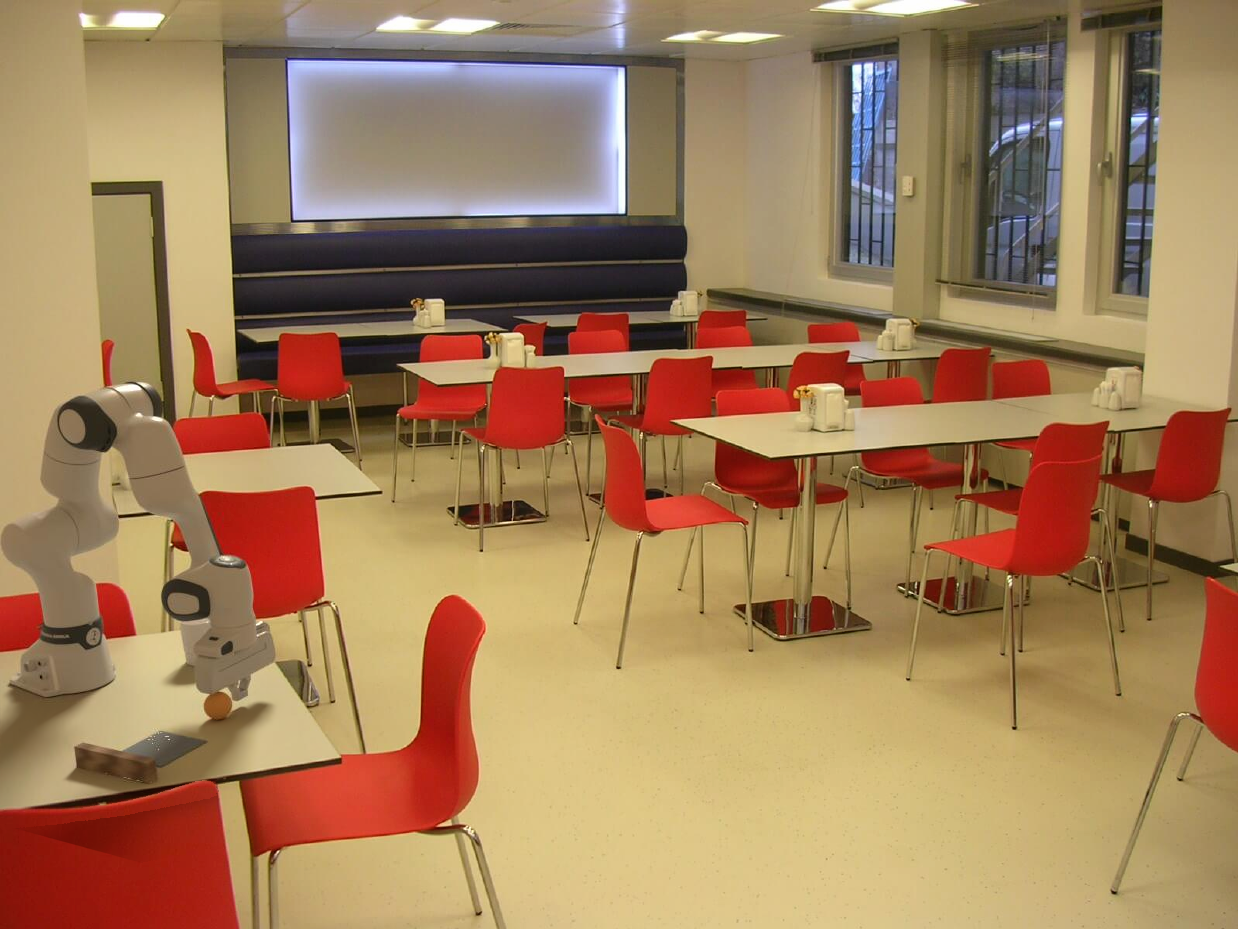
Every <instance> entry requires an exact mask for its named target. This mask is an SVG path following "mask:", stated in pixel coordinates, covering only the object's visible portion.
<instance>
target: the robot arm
mask: <svg viewBox="0 0 1238 929" xmlns="http://www.w3.org/2000/svg"><path fill="white" fill-rule="evenodd" d="M163 412H164V404H163V401H162V397H161V395H160V394H159V392H158V390H157V389H156V388H155V387H154V386H153V385H151V384H149V383H147V382H144V381H127V382H126V381H125V382H124V383H120V384H114V385H109V386H104V387H101V388H99V389H97V390H94V391H91V392H88V393H86V394H84V395H78V396H75V397H73V398H71V399H69V400H68V401H64V402H62V403H60V404H59V405H57V407H56V408H55V409H54V411H53V414H52V416H51V419H50V421H49V425H48V428H47V432H46V436H45V440H44V446H43V452H42V462H41V468H40V476H39V479H40V483H41V486H42V487H43V489H44V490H45V491H46V492H47V493H48V494H49V495H51V496H52V497H54V498H56V499H58V500H57V503H56V505H55V506H54V507H50V508H47V509H43V510H41V511H40V510H39V511H36V512H33V513H29V514H25V515H23V516H21V517H19V518H17V519H15V520H13V521H11V522H10V523H7V524H6V525H5V526H4V527H3V529H2V532H1V535H0V548H1V552H2V555H3V556H4V557H5V559H6V560H7V561H8V562H9V563H11V564H12V565H13V566H14V567H17V568H18V569H21V570H22V571H24V572H26V573H27V575H29V577H30V578H31V579H32V581H33V582H34V584H35V586H36V588H37V591H38V594H39V599H40V604H41V610H42V616H43V617H42V618H43V622H41V623H38V624H35V627H37V628H36V629H35V630H36V631H38V630H40V635H39V638H38V639H37V640H36V641H35V642H34V643H32V645H30V646H29V647H28V648H27V649H26V650H25V651H24V652H23V653H22V654H21V657H20V671H18V672H17V673H15V674H13V675H12V676H11V677H10V678H9V683H10V684H11V685H13V686H16V687H18V688H21V689H23V690H26V691H29V692H30V693H33V694H35V695H39V696H41V697H43V698H49V697H54V696H60V695H67V694H76V693H82V692H88V691H91V690H96V689H98V688H100V687H101V688H102V687H103V686H105V685H108V683H111V682H112V681H113V680H114V679H115V677H116V674H115V671H114V670H115V668H116V665H115V662H112V659H111V655H110V650H109V646H108V641H107V638H106V636H105V634H104V620H103V616H102V614H101V613H100V608H99V607H100V606H99V600H98V592H97V585H96V582H95V581H94V580H93V579H92V577H91V576H89V575H88V574H85V573H83V572H79V571H76V570H74V567H73V565H72V561H71V560H72V559H71V558H72V557H75V556H79V555H81V554H84V553H87V552H91V551H94V550H97V549H99V548H101V547H102V546H105V545H106V544H108V543H110V542H112V541H113V540H114V539H116V537H117V536H118V533H119V530H120V529H119V528H120V519H119V515H118V512H117V510H116V509H115V508H114V507H113V505H112V504H110V502H108V501H106V500H105V499H103V498H102V495H101V494H100V490H99V478H100V469H101V461H102V455H103V453H108V452H109V450H110V449H111V448H114V449H115V450H116V451H118V452H119V453H120V454H121V455H122V458H123V461H124V464H125V467H126V468H125V469H126V473H127V476H128V480H129V485H130V488H131V490H132V493H133V496H134V498H135V501H136V503H137V504H138V506H139V507H140V508H142V509H143V510H144V511H146V512H147V513H149V514H153V515H155V516H159V517H165V518H168V519H171V520H172V521H174V522H175V524H177V526H178V528H179V529H180V532H181V535H182V538H183V540H184V542H185V546H186V548H187V550H188V551H187V552H188V554H189V555H190V561H191V562H190V566H189V568H188V569H186V570H184V571H182V572H180V573H178V574H177V575H175V576H173V577H171V579H169V580H168V581H167V582H166V583H165V584H164V585H163V587H162V590H161V592H160V599H161V604H162V607H163V609H164V611H165V612H166V613H167V615H169V616H170V618H172V619H174V620H176V621H178V622H179V621H194V620H200V619H204V618H208V619H209V620H210V626H211V628H210V629H208V631H207V632H206V633H205V634H204V635H203V637H202V638H201V639H199V640H198V641H197V642H196V643H195V644H194V646H193V650H194V653H195V654H197V655H198V656H197V658H196V660H195V666H194V678H195V686H196V689H197V690H198V692H200V693H202V694H205V695H206V694H207V695H210V694H214V693H216V692H221V691H222V690H224V689H226V688H227V689H228V690H229V692H230V695H231V700H232V702H239V701H241V700H243V699H245V698H247V697H248V696H249V692H248V690H249V686H250V683H251V680H252V677H251V675H253V674H254V673H257V672H258V671H260V670H262V669H264V668H267V667H269V666H270V665H272V664H273V663H275V660H276V657H277V652H276V647H275V642H274V639H273V635H272V633H271V628H270V625H269V624H268V623H267V622H265V621H264V620H263V621H259V622H257V620H256V614H255V612H254V609H253V605H254V604H253V603H254V589H253V583H252V582H253V580H252V576H251V572H250V569H249V566H248V564H247V563H246V561H245V560H244V559H242V558H241V557H238V556H236V555H231V554H224V552H223V550H222V548H221V545H220V543H219V540H218V537H217V535H216V532H215V529H214V526H213V524H212V522H211V518H210V515H209V513H208V511H207V509H206V506H205V503H204V501H203V500H202V499H203V498H202V497H201V496H200V494H199V493H198V491H197V490H196V489H195V487H194V485H193V483H192V480H191V478H190V475H189V471H188V468H187V464H186V461H185V458H184V454H183V452H182V448H181V445H180V443H179V441H178V438H177V437H176V434H175V432H174V430H173V428H172V426H171V424H170V422H169V421H167V420H166V419H165V418H162V417H163V415H164V414H163ZM256 622H257V623H256Z"/></svg>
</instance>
